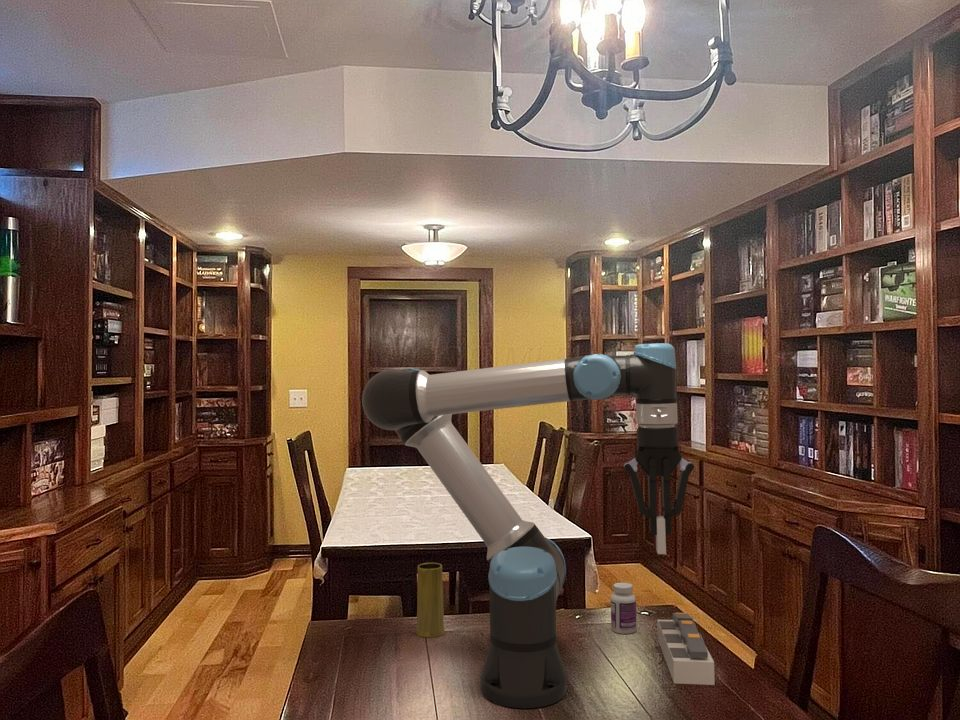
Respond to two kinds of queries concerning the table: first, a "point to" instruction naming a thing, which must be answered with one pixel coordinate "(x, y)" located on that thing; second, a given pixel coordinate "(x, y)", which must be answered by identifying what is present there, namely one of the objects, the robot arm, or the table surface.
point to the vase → (430, 601)
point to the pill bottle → (623, 609)
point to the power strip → (683, 657)
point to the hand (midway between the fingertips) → (661, 552)
